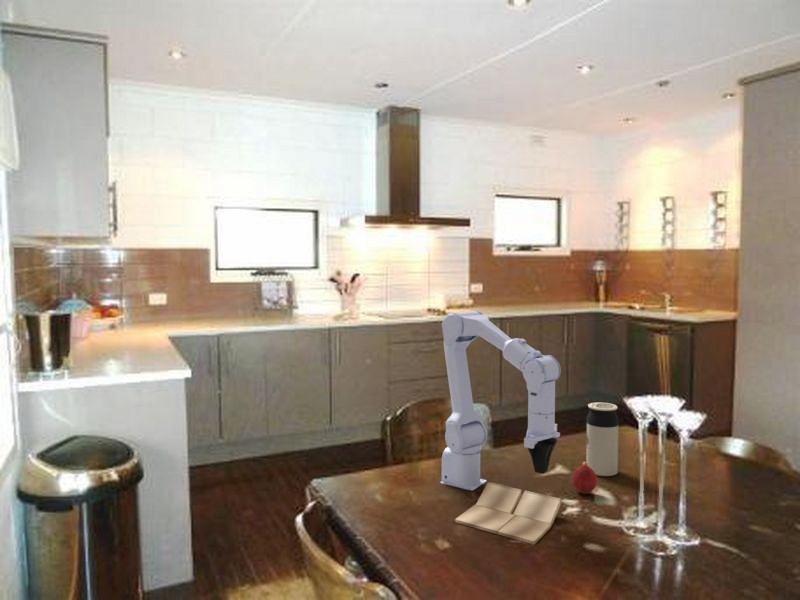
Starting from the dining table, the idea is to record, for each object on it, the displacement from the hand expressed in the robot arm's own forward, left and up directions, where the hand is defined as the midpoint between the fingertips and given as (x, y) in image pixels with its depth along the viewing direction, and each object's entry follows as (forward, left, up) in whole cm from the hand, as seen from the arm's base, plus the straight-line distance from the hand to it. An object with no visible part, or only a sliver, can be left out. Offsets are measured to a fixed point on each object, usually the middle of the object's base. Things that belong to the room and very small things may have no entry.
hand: (540, 471), depth 130 cm
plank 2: (0, -2, -8) cm, 8 cm away
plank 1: (-9, -2, -8) cm, 12 cm away
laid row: (-4, -10, -10) cm, 15 cm away
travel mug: (+4, +35, -10) cm, 36 cm away
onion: (+5, +17, -10) cm, 20 cm away
